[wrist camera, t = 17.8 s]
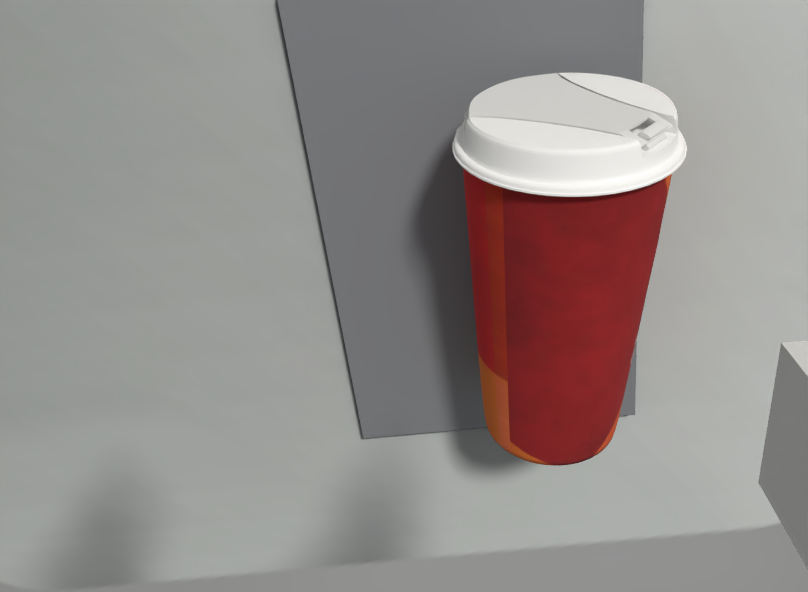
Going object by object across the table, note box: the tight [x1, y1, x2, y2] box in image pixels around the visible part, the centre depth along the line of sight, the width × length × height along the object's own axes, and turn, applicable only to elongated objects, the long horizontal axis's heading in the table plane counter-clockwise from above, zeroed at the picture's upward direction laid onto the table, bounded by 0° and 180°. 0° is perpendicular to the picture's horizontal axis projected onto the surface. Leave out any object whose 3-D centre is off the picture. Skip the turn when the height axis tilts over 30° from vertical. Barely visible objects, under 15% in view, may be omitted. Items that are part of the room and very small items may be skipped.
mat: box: [277, 0, 644, 438], centre depth 34 cm, size 14×22×1 cm, turn 7°
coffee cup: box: [453, 73, 687, 465], centre depth 31 cm, size 8×8×15 cm
